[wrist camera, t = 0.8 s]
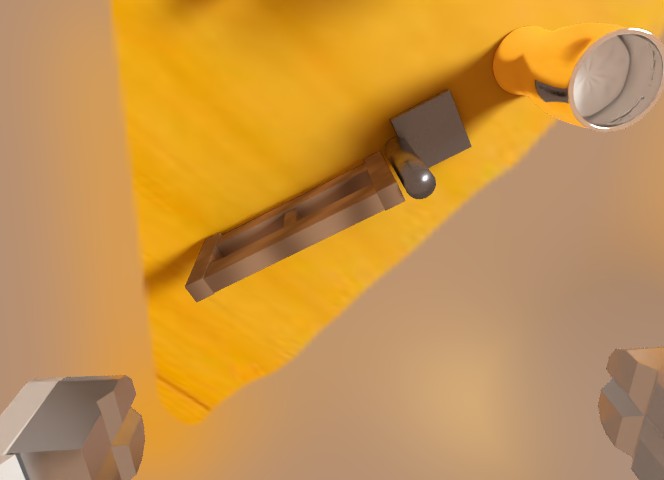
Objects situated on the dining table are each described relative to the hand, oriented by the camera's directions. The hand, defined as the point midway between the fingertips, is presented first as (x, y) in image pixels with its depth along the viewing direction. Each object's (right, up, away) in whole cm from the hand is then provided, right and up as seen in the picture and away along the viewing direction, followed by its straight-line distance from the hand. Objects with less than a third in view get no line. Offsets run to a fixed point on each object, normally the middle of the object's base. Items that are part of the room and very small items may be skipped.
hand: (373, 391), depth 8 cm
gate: (-4, +6, +41) cm, 41 cm away
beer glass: (+17, +19, +37) cm, 45 cm away
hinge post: (+8, +13, +39) cm, 42 cm away
